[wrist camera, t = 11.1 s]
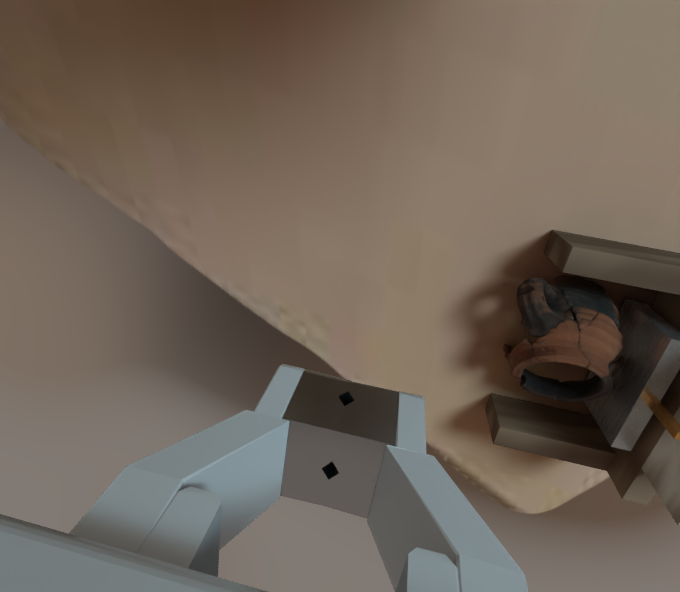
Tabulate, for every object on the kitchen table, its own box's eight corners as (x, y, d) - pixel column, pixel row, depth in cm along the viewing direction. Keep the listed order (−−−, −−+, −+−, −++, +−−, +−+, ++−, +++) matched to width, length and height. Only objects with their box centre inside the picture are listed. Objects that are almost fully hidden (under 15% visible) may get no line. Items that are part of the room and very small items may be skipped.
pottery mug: (639, 317, 36) (650, 402, 32) (535, 339, 43) (531, 411, 38) (573, 230, 31) (574, 315, 27) (468, 270, 38) (454, 343, 34)
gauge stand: (552, 229, 34) (623, 287, 22) (705, 258, 33) (865, 334, 21) (485, 408, 42) (511, 521, 30) (606, 436, 41) (683, 565, 29)
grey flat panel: (625, 299, 35) (708, 370, 25) (644, 302, 35) (735, 376, 25) (579, 393, 39) (635, 487, 29) (595, 397, 39) (657, 492, 29)
